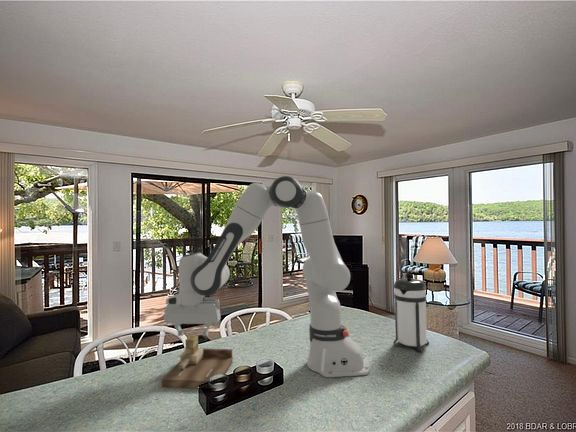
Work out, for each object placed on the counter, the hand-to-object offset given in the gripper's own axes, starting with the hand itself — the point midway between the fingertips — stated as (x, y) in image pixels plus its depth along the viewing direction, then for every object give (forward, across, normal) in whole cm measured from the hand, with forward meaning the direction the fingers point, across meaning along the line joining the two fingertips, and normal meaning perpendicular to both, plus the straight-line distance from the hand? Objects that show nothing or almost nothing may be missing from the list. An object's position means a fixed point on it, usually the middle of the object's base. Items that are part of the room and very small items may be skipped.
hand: (193, 335), depth 109 cm
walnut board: (+12, -4, +4) cm, 13 cm away
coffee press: (+14, -84, -27) cm, 89 cm away
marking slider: (+9, +1, +3) cm, 9 cm away
